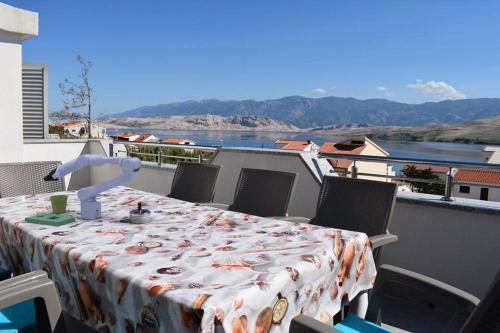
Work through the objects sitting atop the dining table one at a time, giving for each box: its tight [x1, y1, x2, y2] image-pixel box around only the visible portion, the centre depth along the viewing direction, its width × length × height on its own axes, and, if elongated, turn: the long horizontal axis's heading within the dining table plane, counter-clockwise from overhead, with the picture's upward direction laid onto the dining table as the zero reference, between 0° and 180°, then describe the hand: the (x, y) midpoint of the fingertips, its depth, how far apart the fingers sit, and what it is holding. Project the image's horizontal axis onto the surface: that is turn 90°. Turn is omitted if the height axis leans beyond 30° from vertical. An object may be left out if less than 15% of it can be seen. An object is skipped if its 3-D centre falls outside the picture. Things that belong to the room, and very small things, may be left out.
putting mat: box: [24, 213, 76, 227], centre depth 191 cm, size 20×11×2 cm, turn 71°
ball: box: [36, 208, 45, 216], centre depth 193 cm, size 4×4×4 cm
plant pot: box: [48, 194, 69, 214], centre depth 210 cm, size 9×9×9 cm
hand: (48, 176), depth 203 cm, fingers open, 7 cm apart
